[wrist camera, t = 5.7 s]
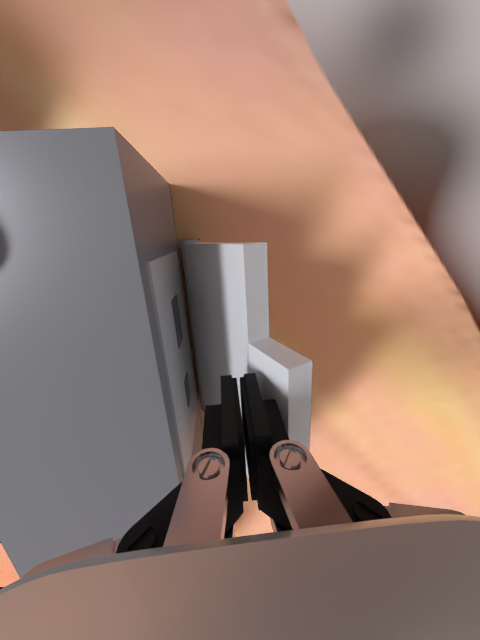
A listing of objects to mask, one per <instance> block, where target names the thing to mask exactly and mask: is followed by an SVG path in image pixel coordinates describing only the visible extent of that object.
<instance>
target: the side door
mask: <svg viewBox="0 0 480 640" xmlns="http://www.w3.org/2000/svg"><path fill="white" fill-rule="evenodd" d="M180 246H181V254H182V261H183V269H184V277H185V285H186V292H187V300H188V308H189V316H190V323H191V331H192V339H193V347H194V354H195V362H196V370H197V378H198V385H199V393H200V401H201V408H202V410H203V411H205V406H206V405H217V404H221V379H220V376H224V375H232V378H237V385H238V393H239V401H240V408H241V394H240V377H244V374H247V373H255V374H256V377H257V381H258V385H259V388H260V392H261V396H262V399H263V400H270V399H275V400H276V403H277V405H278V408H279V411H280V414H281V417H282V420H283V423H284V425H285V428H286V431H287V434H288V437H289V440H293V441H296V442H299V443H301V444H302V445H304V446H305V447H306V448H307V449H308V450H309V447H310V420H311V393H312V366H313V361H312V360H310V359H308V358H306V357H305V356H303V355H301V354H299V353H297V352H295V351H294V350H292V349H290V348H288V347H286V346H285V345H283V344H281V343H279V342H277V341H275V340H274V339H272V338H270V337H269V304H268V262H267V242H200V240H199V239H193V240H180ZM241 416H242V411H241ZM245 458H246V451H245ZM246 475H247V476H248V478H249V474H248V467H247V459H246Z"/></svg>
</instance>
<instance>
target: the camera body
mask: <svg viewBox="0 0 480 640" xmlns="http://www.w3.org/2000/svg"><path fill="white" fill-rule="evenodd" d="M201 447H202V427H201V420H200V412H199V405H198V397H197V389H196V382H195V374H194V367H193V359H192V352H191V344H190V337H189V329H188V322H187V314H186V306H185V299H184V291H183V284H182V276H181V269H180V261H179V254H178V246H177V239H176V231H175V223H174V216H173V208H172V201H171V193H170V186H169V183H168V182H167V181H166V180H165V179H164V178H163V177H162V176H161V175H160V174H159V173H158V172H157V171H156V170H155V169H154V168H153V167H152V166H151V165H150V164H149V163H148V162H147V161H146V160H145V159H144V158H143V157H142V156H141V155H140V154H139V153H138V152H137V151H136V150H135V148H134V147H133V146H132V145H131V144H130V143H129V142H128V141H127V140H126V139H125V138H124V137H123V136H122V135H121V134H120V133H119V132H118V131H117V130H116V129H115V128H114V127H101V128H74V129H48V130H22V131H0V542H1V543H2V545H3V547H4V549H5V551H6V553H7V554H8V556H9V558H10V560H11V562H12V564H13V566H14V567H15V569H16V571H17V573H18V575H19V577H20V578H22V577H23V576H24V575H25V574H27V573H28V572H29V571H30V570H31V569H33V568H34V567H35V566H37V565H39V564H41V563H43V562H45V561H48V560H51V559H53V558H56V557H59V556H62V555H64V554H67V553H70V552H73V551H76V550H78V549H81V548H84V547H87V546H89V545H92V544H95V543H98V542H100V541H103V540H106V539H109V538H112V537H114V540H118V539H120V538H123V536H124V535H125V533H126V532H127V531H128V530H129V529H130V528H131V527H132V526H133V525H134V524H135V523H137V522H138V521H139V520H140V519H141V518H142V517H143V516H144V515H145V514H146V513H148V512H149V511H150V510H151V509H152V508H153V507H154V506H155V505H156V504H158V503H159V502H160V501H161V500H162V499H163V498H164V497H165V496H166V495H167V494H169V493H170V492H171V491H172V490H173V489H174V488H175V487H176V486H177V485H179V484H180V483H181V482H182V481H183V479H184V475H185V472H186V469H187V465H188V463H189V461H190V459H191V458H192V457H193V456H194V454H196V453H197V452H199V451H201Z"/></svg>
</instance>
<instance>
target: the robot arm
mask: <svg viewBox="0 0 480 640" xmlns="http://www.w3.org/2000/svg"><path fill="white" fill-rule="evenodd" d="M220 379H221V404H217V405H206V406H205V416H204V430H203V444H202V450H201V451H199V452H197V453H196V454H194V456H193V457H192V458H191V459H190V461H189V463H188V465H187V469H186V472H185V475H184V479H183V481H182V482H181V483H180V484H179V485H177V486H176V487H175V488H174V489H173V490H172V491H171V492H170V493H169V494H167V495H166V496H165V497H164V498H163V499H162V500H161V501H160V502H159V503H158V504H156V505H155V506H154V507H153V508H152V509H151V510H150V511H149V512H148V513H146V514H145V515H144V516H143V517H142V518H141V519H140V520H139V521H138V522H137V523H135V524H134V525H133V526H132V527H131V528H130V529H129V530H128V531H127V532H126V533H125V535H124V536H123V538H120V539H118V540H114V537H112V538H109V539H106V540H103V541H100V542H98V543H95V544H92V545H89V546H87V547H84V548H81V549H78V550H76V551H73V552H70V553H67V554H64V555H62V556H59V557H56V558H53V559H51V560H48V561H45V562H43V563H41V564H39V565H37V566H35V567H34V568H33V569H31V570H30V571H29V572H28V573H27V574H25V575H24V576H23V577H22V578H21V579H20V580H18V581H16V582H14V583H12V584H10V585H8V586H6V587H4V588H2V589H0V640H480V517H476V516H469V515H465V514H463V513H461V512H458V511H454V510H449V509H440V508H431V507H423V506H414V505H405V504H396V503H389V506H383V505H382V504H381V503H380V502H378V501H377V500H375V499H374V498H372V497H370V496H369V495H367V494H365V493H363V492H361V491H360V490H358V489H356V488H354V487H353V486H351V485H349V484H347V483H345V482H344V481H342V480H340V479H338V478H336V477H335V476H333V475H331V474H329V473H327V472H326V471H324V470H322V469H320V468H319V466H318V465H317V463H316V461H315V460H314V458H313V456H312V455H311V453H310V452H309V450H308V449H307V448H306V447H305V446H304V445H302V444H301V443H299V442H296V441H293V440H289V437H288V434H287V431H286V428H285V425H284V423H283V420H282V417H281V414H280V411H279V408H278V405H277V403H276V400H275V399H270V400H263V399H262V396H261V392H260V388H259V385H258V381H257V377H256V374H255V373H247V374H244V377H240V394H241V408H240V401H239V393H238V385H237V378H232V375H224V376H220ZM241 411H242V416H241ZM245 451H246V458H245ZM246 459H247V467H248V474H249V482H250V490H251V497H252V500H257V502H258V508H259V510H261V511H263V512H264V513H265V514H266V515H268V516H269V517H270V520H271V525H272V528H273V531H274V532H273V533H265V534H257V535H249V536H241V537H234V536H235V522H236V521H237V520H238V518H239V517H240V516H241V515H242V513H243V501H248V494H247V476H246Z"/></svg>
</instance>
